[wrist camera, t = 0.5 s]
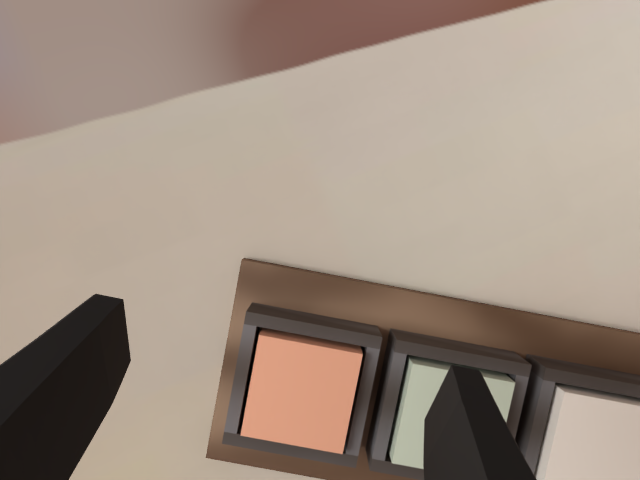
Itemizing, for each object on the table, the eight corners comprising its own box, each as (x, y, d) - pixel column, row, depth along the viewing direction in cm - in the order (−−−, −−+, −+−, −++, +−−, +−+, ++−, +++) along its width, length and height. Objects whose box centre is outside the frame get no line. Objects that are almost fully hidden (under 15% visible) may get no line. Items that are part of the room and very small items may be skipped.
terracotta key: (341, 438, 32) (342, 454, 30) (245, 421, 32) (240, 435, 30) (359, 344, 32) (362, 354, 30) (262, 326, 31) (259, 334, 29)
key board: (618, 524, 35) (654, 563, 31) (209, 450, 35) (195, 480, 31) (665, 337, 34) (708, 354, 30) (243, 258, 34) (234, 264, 30)
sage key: (481, 464, 32) (492, 481, 30) (387, 447, 32) (391, 463, 30) (502, 371, 32) (515, 382, 30) (406, 353, 32) (412, 363, 30)
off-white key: (621, 490, 32) (641, 508, 30) (527, 472, 32) (541, 490, 30) (644, 398, 32) (666, 410, 30) (549, 380, 32) (564, 392, 30)
